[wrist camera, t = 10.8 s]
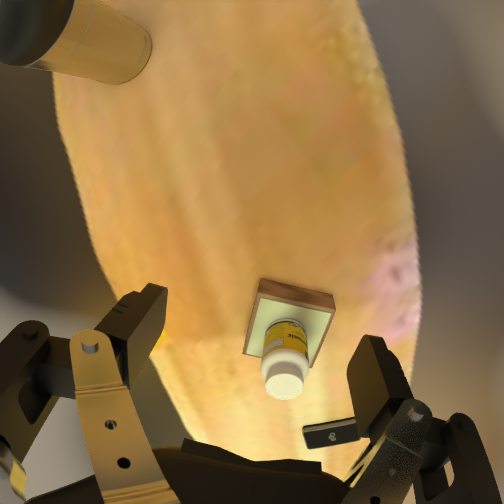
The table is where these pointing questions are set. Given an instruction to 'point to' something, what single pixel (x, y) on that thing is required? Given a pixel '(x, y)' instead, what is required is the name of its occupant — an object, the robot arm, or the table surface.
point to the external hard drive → (331, 433)
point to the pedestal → (289, 315)
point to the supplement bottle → (285, 359)
